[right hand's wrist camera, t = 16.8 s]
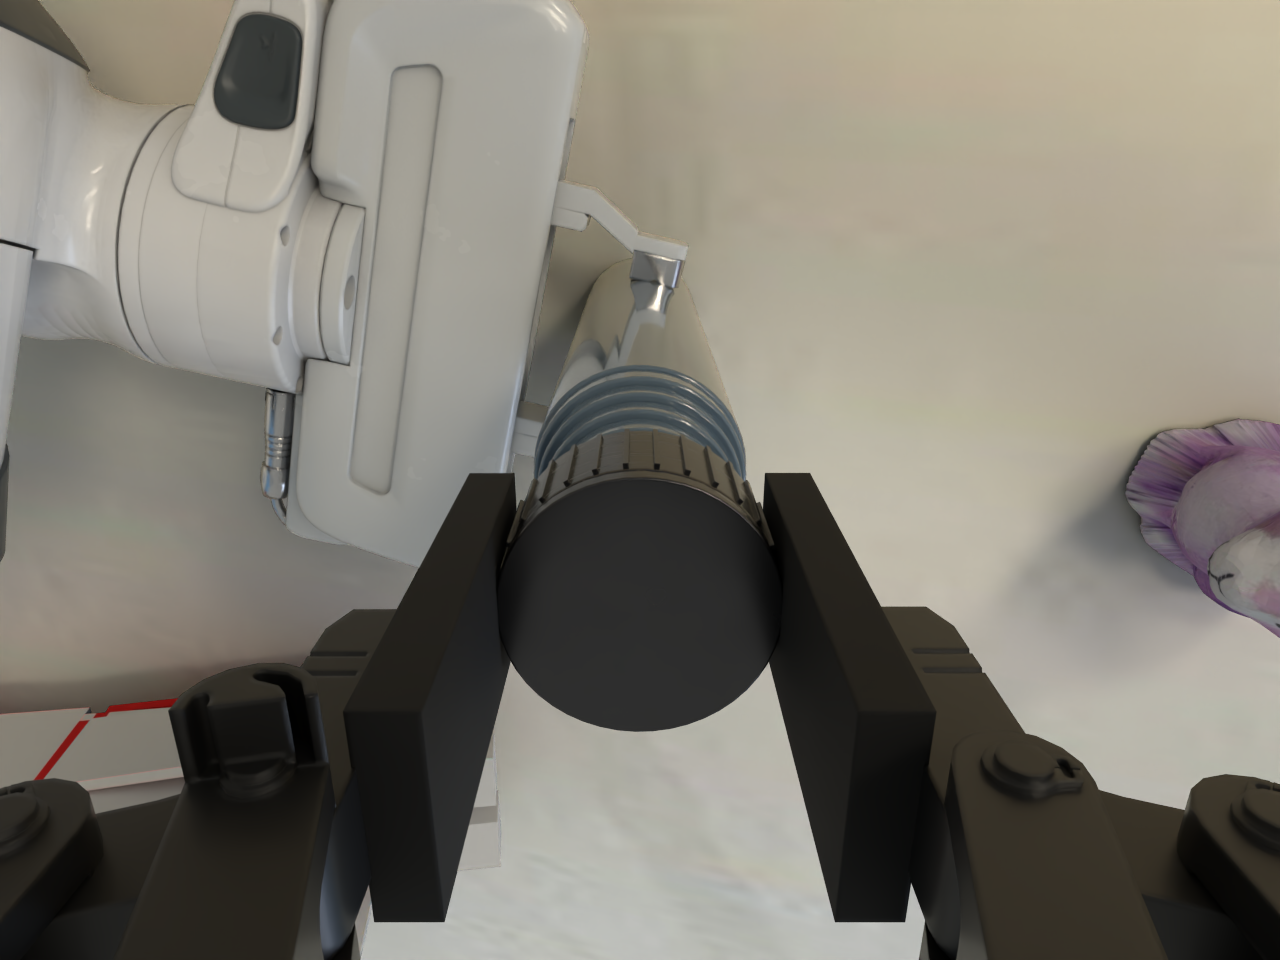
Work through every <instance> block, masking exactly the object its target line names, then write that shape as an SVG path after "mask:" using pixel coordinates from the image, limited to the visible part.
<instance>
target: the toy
mask: <svg viewBox="0 0 1280 960" xmlns="http://www.w3.org/2000/svg"><path fill="white" fill-rule="evenodd" d="M177 699H178V698H175V699H166V700H157V701H148V702H139V703H131V704H122V705H113V706H109V708H108V709H107V711H106V712H105V713H91V709H90V707H85V708H72V709H59V710H46V711H33V712H20V713H7V714H0V788H3V787H6V786H7V787H8V786H11V785H13V784H17V783H21V782H24V781H31V780H40V779H50V778H57V779H63V780H68V781H74V782H77V783H78V784H80V785H81V786H82V787H83V788H84V789H85V790H87V791H88V792H89V794H90V797H91V801H92V804H93V807H94V811H95V814H97V813H101V812H106V811H110V810H115V809H120V808H124V807H129V806H133V805H138V804H143V803H147V802H152V801H156V800H160V799H163V798H167V797H170V796H174V795H177V794H181V791H182V789H183V786H184V784H185V780H184V776H183V772H182V768H181V763H180V759H179V755H178V751H177V747H176V742H175V738H174V734H173V730H172V726H171V721H170V717H169V713H168V710H169V709H170V708H171V707H172V705H173V704H174V703H175V702H176V700H177ZM500 866H501V824H500V810H499V796H498V790H497V767H496V753H495V739H494V729H493V732H492V736H491V740H490V744H489V748H488V752H487V756H486V760H485V764H484V768H483V772H482V776H481V780H480V784H479V788H478V792H477V796H476V799H475V803H474V807H473V811H472V815H471V819H470V823H469V827H468V831H467V835H466V839H465V843H464V847H463V851H462V855H461V859H460V863H459V866H458V870H457V871H462V870H471V869H481V868H490V867H500ZM371 910H372V903H371V897H370V890H369V886H368V888H367V891H366V894H365V897H364V899H363V902H362V905H361V907H360V910H359V913H358V916H357V918H356V921H355V925H356V931H357V938H358V944H359V951H360V959H361V954H362V950H363V945H364V941H365V936H366V932H367V928H368V923H369V919H370V914H371Z"/></svg>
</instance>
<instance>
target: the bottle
mask: <svg viewBox="0 0 1280 960" xmlns="http://www.w3.org/2000/svg"><path fill="white" fill-rule="evenodd" d="M631 262H632V258H630V259H626V260H622V261H620V262H618V263H615V264H614V265H612V266H610V267H609V268H608V269H606V270H605V271H604V272H603V273H602V274H601V275H600V276H599V277H598V279H597V280H596V281H595V283H594V285H593V286H592V288H591V291H590V293H589V296H588V299H587V302H586V304H585V307H584V310H583V313H582V315H581V318H580V321H579V324H578V327H577V329H576V332H575V335H574V338H573V340H572V343H571V346H570V349H569V352H568V354H567V357H566V360H565V363H564V365H563V368H562V371H561V374H560V376H559V379H558V382H557V385H556V388H555V390H554V393H553V396H552V399H551V401H550V404H549V407H548V410H547V413H546V415H545V418H544V421H543V424H542V426H541V429H540V432H539V435H538V439H537V443H536V447H535V454H534V478H535V479H538V478H539V476H540V475H541V474H542V473H543V472H544V471H545V470H546V469H547V468H548V464H549V461H551V460H552V459H553V460H554V461H555V460H557V459H558V458H559V457H561V456H562V455H563V454H564V453H566V452H568V451H569V450H570V449H571V446H572V445H574V444H576V445H577V446H578V445H580V444H582V443H584V442H587V441H589V440H591V439H594V438H596V437H597V435H598V434H602V436H604V435H608V434H612V433H618V432H624V429H630V431H653V429H658V432H663V433H667V434H672V435H676V436H680V435H681V434H682V435H685V436H686V439H688V440H691V441H693V442H696V443H698V444H699V445H701V446H703V447H705V446H706V445H708V446H709V447H711V451H712V452H713V453H715V454H716V455H718V456H719V457H721V458H722V459H723V460H724V461H726V462H728V461H730V462H731V463H732V464H733V467H734V470H735V471H736V472H737V473H738V475H739V476H740V477H741V478H742V479H743V481H746V456H745V448H744V443H743V439H742V436H741V433H740V430H739V427H738V424H737V422H736V419H735V416H734V413H733V411H732V408H731V405H730V402H729V399H728V397H727V394H726V391H725V388H724V386H723V383H722V380H721V377H720V375H719V372H718V369H717V366H716V363H715V361H714V358H713V355H712V352H711V350H710V347H709V344H708V341H707V338H706V336H705V333H704V330H703V327H702V325H701V322H700V319H699V316H698V313H697V311H696V308H695V305H694V302H693V300H692V297H691V294H690V291H689V289H688V287H687V285H686V283H685V282H684V280H683V279H682V278H681V279H680V283H679V287H678V288H670V287H666V286H663V285H661V284H659V283H658V282H657V281H656V280H652V281H650V282H647V281H639V280H635V279H631V278H629V272H630V267H631Z"/></svg>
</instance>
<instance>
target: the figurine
mask: <svg viewBox="0 0 1280 960" xmlns="http://www.w3.org/2000/svg"><path fill="white" fill-rule="evenodd" d="M1126 486H1127V490H1126V492H1125V494H1126V498H1127V501H1128V503H1129V504H1130V505H1131V507H1132V508H1133V509H1134V510H1135V511H1136V512H1137V513H1138V514H1139V515H1140V516H1141V525H1140V531H1141V533H1142V535H1143V538H1144V540H1145V542H1146V543H1147V544H1148V545H1149V546H1150V547H1152V548H1153V549H1154V550H1156V551H1157V552H1159V553H1160V554H1161V555H1163V556H1164V557H1165V558H1167V559H1168V560H1170V561H1171V562H1173V563H1174V564H1176V565H1177V566H1179V567H1180V568H1182V569H1183V570H1185V571H1187V572H1188V573H1190V574H1191V575H1193V576H1194V578H1195V580H1196V582H1197V584H1198V586H1199V587H1200V589H1201V590H1202V591H1203V593H1204V594H1206V595H1207V596H1208V597H1209V598H1211V599H1212V600H1213V601H1215V602H1216V603H1218V604H1219V605H1221V606H1222V607H1224V608H1226V609H1227V610H1229V611H1232V612H1234V613H1237V614H1240V615H1243V616H1245V617H1248V618H1251V619H1253V620H1255V621H1256V622H1258V623H1260V624H1261V625H1263V626H1264V627H1265V628H1267V629H1268V630H1269V631H1271V632H1272V633H1274V634H1275V635H1276V636H1278V637H1279V638H1280V425H1278V424H1274V423H1270V422H1264V421H1252V420H1241V419H1236V420H1233V421H1229V422H1225V423H1221V424H1217V425H1213V426H1211V427H1208V428H1206V429H1201V428H1199V429H1173V430H1169V431H1164V432H1161V433H1159V434H1158V435H1157V437H1156V438H1155V439H1153V440H1151V443H1150V444H1149V445H1148V446H1147V450H1145V451H1144V455H1142V456H1141V460H1139V461H1138V465H1136V466H1135V470H1133V471H1132V475H1131V476H1129V483H1128V484H1127V485H1126Z"/></svg>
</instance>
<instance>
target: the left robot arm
mask: <svg viewBox="0 0 1280 960" xmlns="http://www.w3.org/2000/svg"><path fill="white" fill-rule="evenodd" d="M589 41H590V37H589V31H588V28H587V26H586V24H585V21H584V20H583V18H582V16H581V14H580V13H579V11H578V10H577V8H576V7H575V6H574V4H573V3H572V2H571V0H234V3H233V5H232V8H231V11H230V14H229V17H228V20H227V22H226V25H225V28H224V31H223V34H222V36H221V39H220V42H219V45H218V47H217V50H216V53H215V56H214V58H213V61H212V64H211V66H210V69H209V72H208V74H207V77H206V79H205V82H204V84H203V87H202V89H201V92H200V94H199V96H198V99H197V101H196V104H195V105H192V104H139V103H133V102H128V101H123V100H120V99H117V98H114V97H111V96H108V95H106V94H104V93H102V92H100V91H99V90H97V89H95V88H93V87H92V86H91V84H90V83H89V81H88V77H87V73H88V72H89V71H90V70H89V68H88V66H87V64H86V63H85V61H84V59H83V58H82V56H81V55H80V53H79V52H78V50H77V49H76V48H75V46H74V45H73V44H72V42H71V41H70V39H69V38H68V37H67V36H66V34H65V33H64V32H63V30H62V29H61V28H60V27H59V25H58V24H57V23H56V22H55V21H54V19H53V18H52V17H51V16H50V15H49V13H48V12H47V11H46V10H45V9H44V7H43V6H42V5H41V4H40V2H39V1H38V0H0V562H1V560H2V558H3V556H4V553H5V544H6V521H7V499H8V477H9V451H8V446H7V444H6V438H7V431H8V424H9V417H10V410H11V403H12V396H13V389H14V382H15V375H16V368H17V361H18V354H19V347H20V340H21V336H23V337H29V338H35V339H41V340H65V339H93V340H98V341H103V342H105V343H108V344H111V345H114V346H116V347H119V348H121V349H122V350H124V351H126V352H128V353H130V354H132V355H134V356H136V357H138V358H140V359H142V360H144V361H147V362H150V363H153V364H157V365H162V366H166V367H171V368H175V369H180V370H185V371H190V372H195V373H200V374H204V375H209V376H214V377H219V378H223V379H228V380H233V381H237V382H241V383H246V384H251V385H256V386H261V387H265V388H266V396H265V416H264V431H265V432H264V433H265V459H264V461H263V462H262V467H261V475H260V481H261V489H262V493H263V495H264V496H265V497H267V498H269V499H271V503H272V507H273V509H274V511H275V513H276V515H277V516H278V518H279V519H280V521H281V522H282V523H283V524H284V525H285V526H286V528H287V529H288V531H290V532H291V533H293V534H295V535H297V536H299V537H302V538H306V539H311V540H316V541H321V542H326V543H331V544H336V545H351V546H354V547H357V548H359V549H362V550H365V551H368V552H370V553H373V554H376V555H379V556H382V557H385V558H388V559H391V560H394V561H397V562H400V563H404V564H407V565H410V566H414V567H417V568H419V567H420V565H421V563H422V561H423V560H424V558H425V556H426V554H427V552H428V550H429V548H430V546H431V544H432V543H433V541H434V539H435V537H436V535H437V533H438V531H439V529H440V528H441V526H442V524H443V522H444V520H445V518H446V516H447V514H448V513H449V511H450V509H451V507H452V505H453V503H454V501H455V499H456V497H457V496H458V494H459V492H460V490H461V488H462V486H463V484H464V482H465V481H466V479H467V477H468V475H469V473H512V468H513V462H514V457H515V454H520V455H525V456H529V457H534V454H535V447H536V443H537V439H538V435H539V432H540V429H541V426H542V424H543V421H544V418H545V415H546V413H547V410H548V406H543V405H539V404H534V403H530V402H525V396H526V390H527V385H528V379H529V374H530V368H531V363H532V357H533V352H534V346H535V341H536V335H537V330H538V324H539V319H540V313H541V308H542V302H543V297H544V291H545V286H546V280H547V275H548V269H549V264H550V258H551V252H552V247H553V241H554V236H555V230H556V226H559V227H563V228H568V229H572V230H577V231H581V232H582V231H583V230H585V229H586V228H587V226H588V225H589V222H590V217H591V216H592V217H593V218H594V219H595V220H596V221H597V222H598V223H599V224H600V225H601V226H603V227H604V228H605V229H606V230H607V231H608V232H609V233H610V234H611V235H612V236H613V237H615V238H616V239H617V240H618V241H619V242H620V243H621V244H622V245H623V246H624V247H625V248H626V249H628V250H629V251H630V252H631V253H632V254H633V256H632V262H631V267H630V272H629V278H631V279H635V280H639V281H647V282H650V281H652V280H656V281H657V282H658V283H659V284H661V285H663V286H666V287H670V288H678V287H679V283H680V279H681V275H682V272H683V268H684V264H685V259H686V255H687V251H688V247H689V246H688V244H687V243H685V242H682V241H679V240H676V239H672V238H667V237H663V236H659V235H654V234H650V233H646V232H642V231H638V226H637V225H636V224H635V223H634V222H632V221H631V220H630V219H629V218H628V217H627V216H626V215H625V214H624V213H623V212H622V211H621V210H620V209H619V208H618V207H617V206H616V205H615V204H614V203H613V202H611V201H610V200H609V199H608V198H607V197H606V196H605V195H604V194H603V193H602V192H601V191H600V190H599V189H598V188H597V187H592V186H588V185H584V184H580V183H576V182H571V181H567V180H565V175H566V170H567V164H568V159H569V153H570V148H571V142H572V137H573V131H574V126H575V120H576V115H577V109H578V104H579V98H580V92H581V87H582V81H583V76H584V70H585V65H586V59H587V54H588V48H589ZM286 497H287V510H286V508H285V506H284V504H283V501H282V499H284V498H286Z"/></svg>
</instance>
